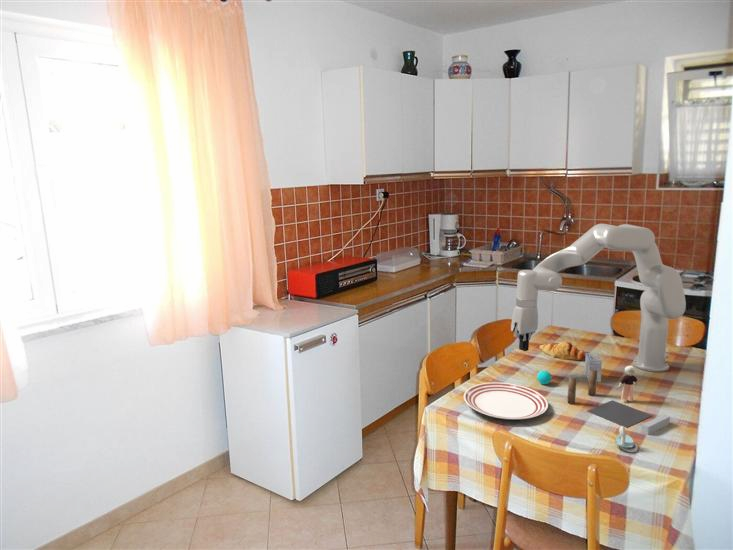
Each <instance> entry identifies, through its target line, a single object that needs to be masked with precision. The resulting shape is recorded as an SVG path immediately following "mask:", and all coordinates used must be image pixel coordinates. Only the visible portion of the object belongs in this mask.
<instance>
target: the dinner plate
mask: <svg viewBox="0 0 733 550" xmlns="http://www.w3.org/2000/svg"><path fill="white" fill-rule="evenodd" d="M463 400H464V402H465V403H466V404H467V406H469V407H470V408H471V409H473V410H474V411H476V412H477V413H480V414H483V415H486V416H489V417H491V418H496V419H502V420H526V419H532V418H535V417H539V416H541V415H542V414H544V413H545V412H547V410H548V409H549V403H548V401H547V398H546V397H544V395H542V394H541V393H540V392H538V391H536V390H534V389H532V388H529V387H526V386H523V385H519V384H514V383H509V382H500V381H499V382H494V381H492V382H484V383H482V382H481V383H479V384H476V385H472V386H471V387H469V388H468V389H466V390H465V391H464V393H463Z"/></svg>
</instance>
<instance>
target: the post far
mask: <svg viewBox="0 0 733 550" xmlns="http://www.w3.org/2000/svg"><path fill="white" fill-rule="evenodd" d="M567 386H568V388H567V402H568V403H569V405H575V404H576V394H577V393H576V392H577V391H576V390H577V377H575V376H569V377H568V385H567ZM568 403H567V404H568Z"/></svg>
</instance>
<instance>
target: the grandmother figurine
mask: <svg viewBox="0 0 733 550" xmlns="http://www.w3.org/2000/svg"><path fill="white" fill-rule="evenodd" d="M635 372H636V367H635V366H634V365H627V366H625V367H624V373H626V374H625V375H624V376H623V377H622V379H621V380H620V381H619V384H618V386H617V387H618V388H619V389H621V388H622V389H621V390H622V391H621V397H620V398H621V399H619V401H620V402H621V404H628V403H633V402H634V395H635V394H634V385H639V381H638V378H637V377H636V376H635ZM622 386H623V387H622Z"/></svg>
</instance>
